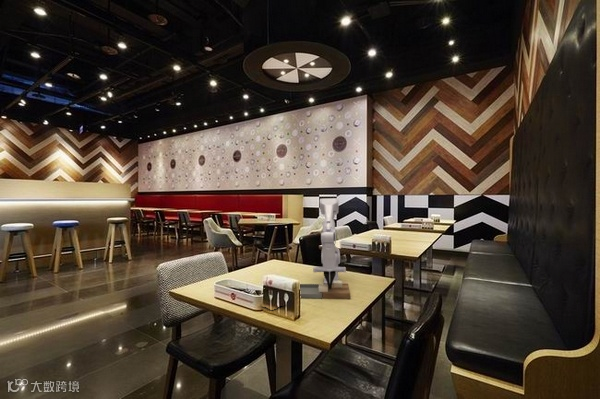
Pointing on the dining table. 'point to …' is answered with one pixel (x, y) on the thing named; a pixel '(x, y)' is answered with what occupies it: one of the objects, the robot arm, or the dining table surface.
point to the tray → (310, 291)
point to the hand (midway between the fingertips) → (330, 288)
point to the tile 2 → (337, 284)
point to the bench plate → (337, 292)
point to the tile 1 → (323, 288)
